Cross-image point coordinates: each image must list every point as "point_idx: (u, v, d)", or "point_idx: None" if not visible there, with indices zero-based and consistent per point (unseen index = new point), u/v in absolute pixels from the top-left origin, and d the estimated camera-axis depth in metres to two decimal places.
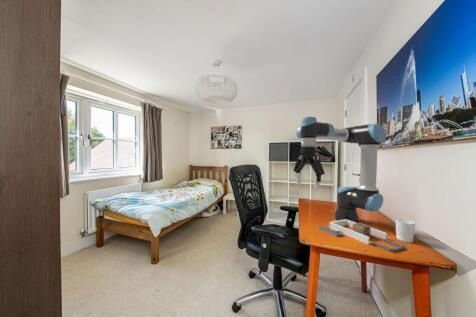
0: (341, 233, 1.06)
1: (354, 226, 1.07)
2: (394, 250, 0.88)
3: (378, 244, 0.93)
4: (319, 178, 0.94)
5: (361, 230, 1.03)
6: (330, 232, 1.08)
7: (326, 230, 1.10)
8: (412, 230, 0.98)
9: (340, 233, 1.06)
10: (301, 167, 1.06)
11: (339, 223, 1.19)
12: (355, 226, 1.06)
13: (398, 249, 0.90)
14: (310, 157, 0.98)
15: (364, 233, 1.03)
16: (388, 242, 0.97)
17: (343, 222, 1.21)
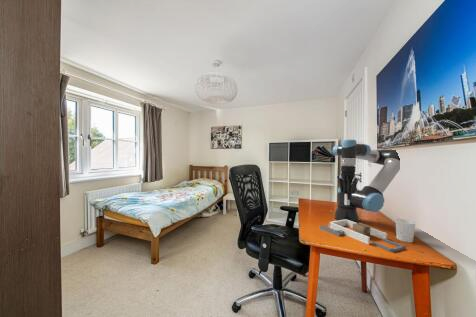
0: (342, 232, 1.07)
1: (354, 226, 1.07)
2: (394, 250, 0.88)
3: (378, 244, 0.93)
4: (349, 196, 1.13)
5: (361, 230, 1.03)
6: (332, 232, 1.08)
7: (327, 230, 1.11)
8: (412, 230, 0.98)
9: (342, 232, 1.07)
10: (346, 186, 1.15)
11: (339, 223, 1.19)
12: (355, 226, 1.06)
13: (398, 249, 0.90)
14: (351, 175, 1.11)
15: (364, 233, 1.03)
16: (388, 242, 0.97)
17: (343, 222, 1.21)
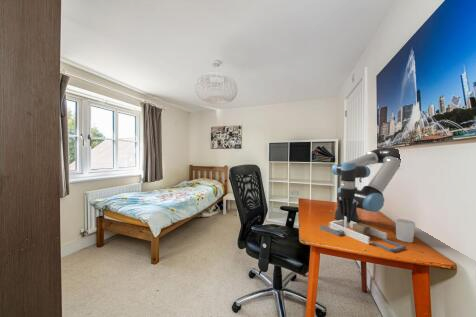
0: (342, 232, 1.07)
1: (354, 226, 1.07)
2: (394, 250, 0.88)
3: (378, 244, 0.93)
4: (349, 219, 1.13)
5: (361, 230, 1.03)
6: (332, 231, 1.09)
7: (327, 230, 1.11)
8: (412, 230, 0.98)
9: (342, 232, 1.07)
10: (346, 208, 1.15)
11: (339, 223, 1.19)
12: (355, 226, 1.06)
13: (398, 249, 0.90)
14: (350, 198, 1.11)
15: (364, 233, 1.03)
16: (388, 242, 0.97)
17: (343, 222, 1.21)
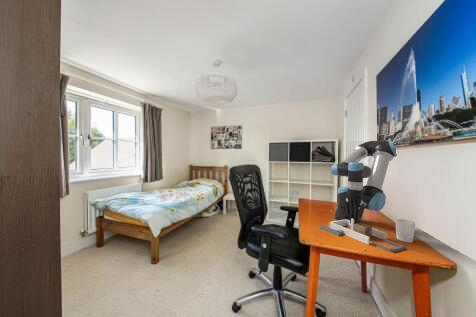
0: (342, 232, 1.08)
1: (355, 226, 1.06)
2: (394, 250, 0.88)
3: (378, 244, 0.93)
4: (356, 221, 1.08)
5: (363, 230, 1.02)
6: (332, 231, 1.09)
7: (327, 230, 1.11)
8: (412, 230, 0.98)
9: (341, 232, 1.07)
10: (353, 210, 1.11)
11: (339, 223, 1.19)
12: (356, 226, 1.06)
13: (398, 249, 0.90)
14: (358, 200, 1.07)
15: (365, 233, 1.02)
16: (388, 242, 0.97)
17: (343, 222, 1.21)
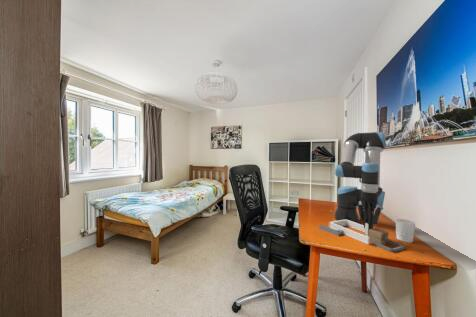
0: (342, 232, 1.08)
1: (370, 232, 0.99)
2: (394, 250, 0.88)
3: (378, 244, 0.93)
4: (371, 226, 1.01)
5: (379, 236, 0.95)
6: (331, 231, 1.09)
7: (327, 229, 1.11)
8: (412, 230, 0.98)
9: (341, 232, 1.07)
10: (367, 214, 1.03)
11: (339, 223, 1.19)
12: (371, 232, 0.98)
13: (398, 249, 0.90)
14: (373, 203, 0.99)
15: (382, 240, 0.95)
16: (388, 242, 0.97)
17: (343, 222, 1.21)
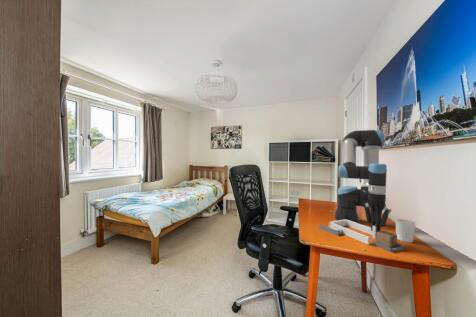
0: (342, 232, 1.08)
1: (378, 235, 0.95)
2: (394, 250, 0.88)
3: (378, 244, 0.93)
4: (379, 229, 0.98)
5: (387, 239, 0.92)
6: (331, 231, 1.09)
7: (327, 229, 1.11)
8: (412, 230, 0.98)
9: (341, 232, 1.07)
10: (374, 216, 1.00)
11: (339, 223, 1.19)
12: (379, 235, 0.95)
13: (398, 249, 0.90)
14: (381, 205, 0.96)
15: (390, 243, 0.91)
16: None
17: (343, 222, 1.21)
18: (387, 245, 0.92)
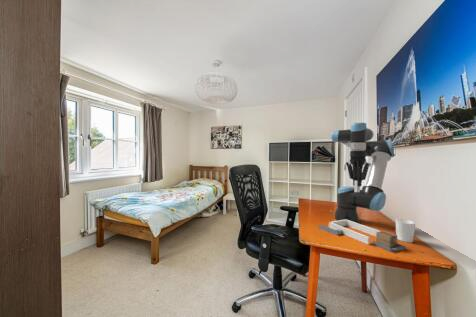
0: (341, 232, 1.08)
1: (378, 235, 0.95)
2: (394, 250, 0.88)
3: (378, 244, 0.93)
4: (360, 183, 1.06)
5: (387, 239, 0.92)
6: (331, 231, 1.09)
7: (326, 229, 1.12)
8: (412, 230, 0.98)
9: (340, 232, 1.08)
10: (356, 172, 1.09)
11: (339, 223, 1.19)
12: (379, 235, 0.95)
13: (398, 249, 0.90)
14: (361, 160, 1.05)
15: (390, 243, 0.91)
16: None
17: (343, 222, 1.21)
18: (387, 245, 0.92)
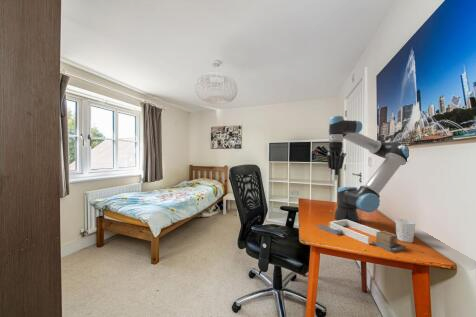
0: (341, 231, 1.08)
1: (378, 235, 0.95)
2: (394, 250, 0.88)
3: (378, 244, 0.93)
4: (337, 172, 1.15)
5: (387, 239, 0.92)
6: (330, 231, 1.09)
7: (326, 229, 1.12)
8: (412, 230, 0.98)
9: (340, 231, 1.08)
10: (334, 162, 1.17)
11: (339, 223, 1.19)
12: (379, 235, 0.95)
13: (398, 249, 0.90)
14: (338, 151, 1.14)
15: (390, 243, 0.91)
16: None
17: (343, 222, 1.21)
18: (387, 245, 0.92)
